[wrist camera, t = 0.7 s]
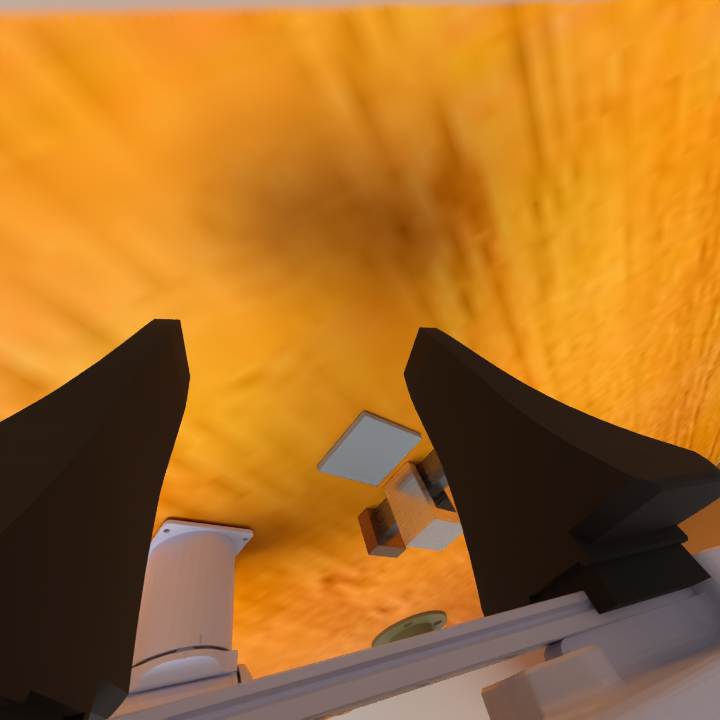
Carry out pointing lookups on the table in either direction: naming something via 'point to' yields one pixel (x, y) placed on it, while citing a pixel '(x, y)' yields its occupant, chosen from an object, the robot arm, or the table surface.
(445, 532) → the bracket
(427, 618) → the flange
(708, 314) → the table surface
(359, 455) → the mat
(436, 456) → the rail
